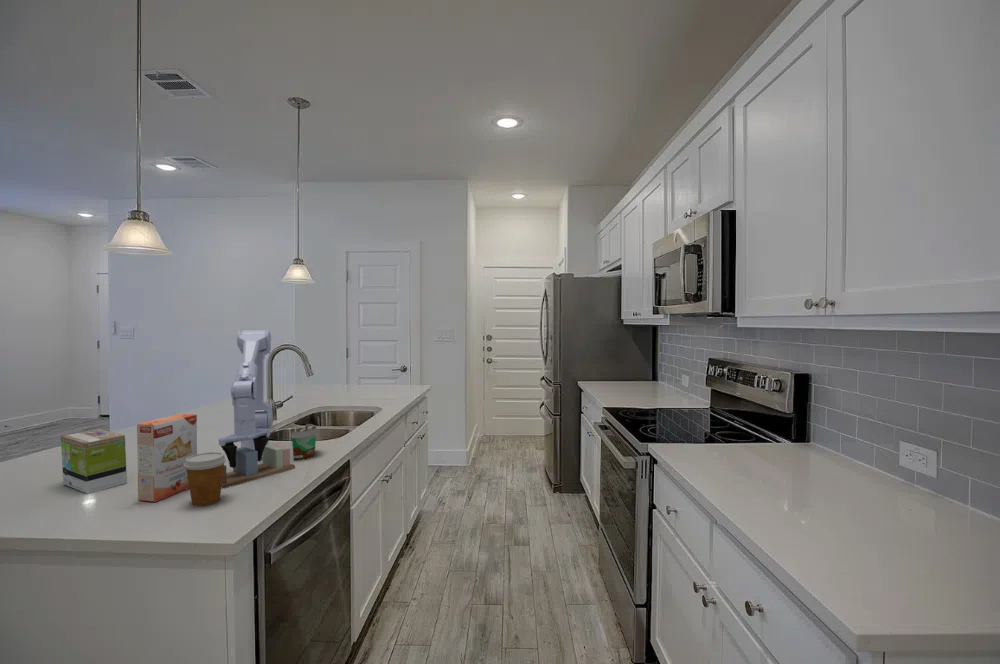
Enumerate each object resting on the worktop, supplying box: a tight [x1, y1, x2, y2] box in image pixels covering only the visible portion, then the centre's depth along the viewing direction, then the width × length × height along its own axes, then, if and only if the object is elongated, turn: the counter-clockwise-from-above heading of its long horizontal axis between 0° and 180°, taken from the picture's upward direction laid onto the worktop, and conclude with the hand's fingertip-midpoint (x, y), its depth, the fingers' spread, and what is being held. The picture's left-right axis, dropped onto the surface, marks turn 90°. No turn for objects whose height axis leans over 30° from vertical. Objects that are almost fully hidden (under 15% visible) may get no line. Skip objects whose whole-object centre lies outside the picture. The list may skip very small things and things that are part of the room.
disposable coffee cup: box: [184, 451, 227, 507], centre depth 127 cm, size 10×10×12 cm
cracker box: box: [136, 413, 198, 503], centre depth 133 cm, size 14×6×21 cm, turn 168°
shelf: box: [221, 463, 296, 489], centre depth 148 cm, size 10×22×6 cm, turn 145°
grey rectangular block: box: [232, 447, 259, 477], centre depth 147 cm, size 8×4×7 cm, turn 54°
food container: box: [290, 423, 319, 461], centre depth 167 cm, size 12×6×10 cm, turn 179°
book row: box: [262, 444, 291, 469], centre depth 155 cm, size 8×4×6 cm, turn 55°
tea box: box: [60, 428, 128, 495], centre depth 140 cm, size 15×10×15 cm, turn 62°
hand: (245, 463), depth 147 cm, fingers open, 7 cm apart
